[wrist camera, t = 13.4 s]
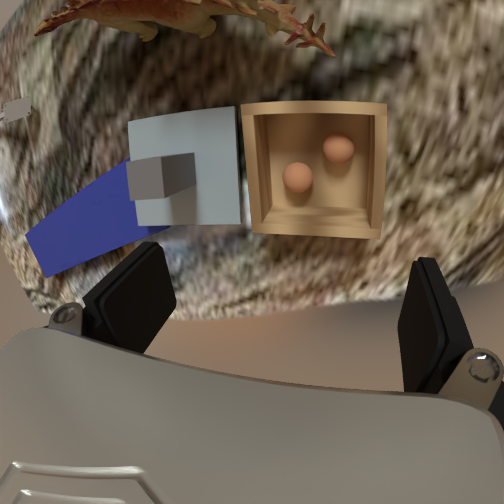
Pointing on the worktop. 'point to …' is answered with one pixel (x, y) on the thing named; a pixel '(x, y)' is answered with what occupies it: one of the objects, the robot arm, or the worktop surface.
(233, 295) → the worktop surface
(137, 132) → the lid
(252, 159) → the pine box
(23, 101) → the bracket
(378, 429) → the robot arm
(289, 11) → the toy
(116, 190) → the long blue plank
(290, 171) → the rust ball
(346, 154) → the rust ball
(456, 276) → the worktop surface
